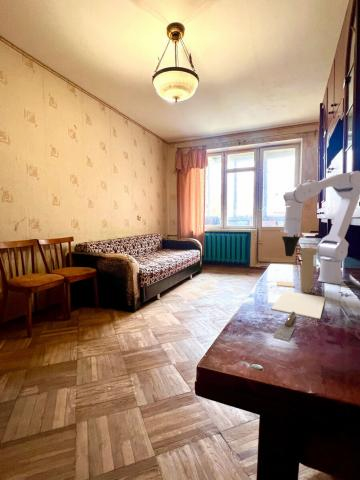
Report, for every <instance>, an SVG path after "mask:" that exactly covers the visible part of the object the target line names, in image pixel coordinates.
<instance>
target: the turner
mask: <svg viewBox="0 0 360 480" xmlns="http://www.w3.org/2000/svg"><path fill="white" fill-rule="evenodd" d="M296 316H297V315H296V313H295V312H291V313H289V315H288V318H287V319H286V321H285V323H284V324H280V325H279V327H278V328H277V329H276V331H275V332H274V334H273V338H275V339H279V340H283V341H287V342H289V341H290V340H291V337H292V335H293V333H294V331H295V327H293V326H292V323H293V322H294V319H295V317H296Z"/></svg>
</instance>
